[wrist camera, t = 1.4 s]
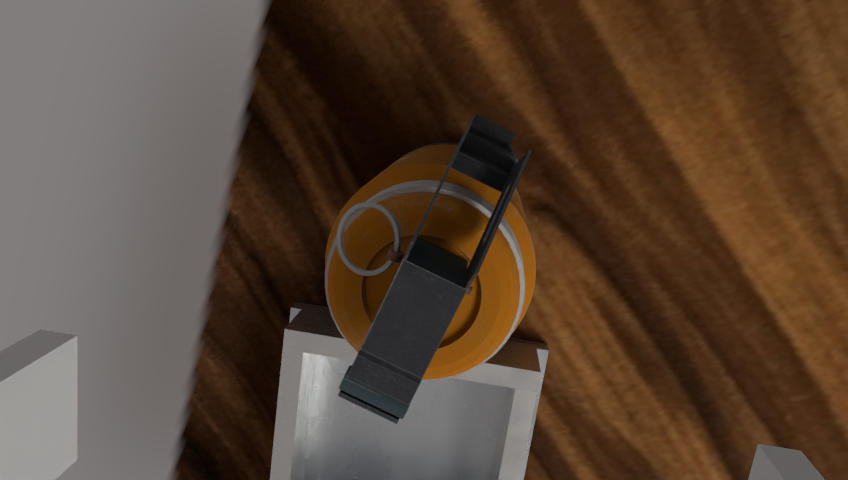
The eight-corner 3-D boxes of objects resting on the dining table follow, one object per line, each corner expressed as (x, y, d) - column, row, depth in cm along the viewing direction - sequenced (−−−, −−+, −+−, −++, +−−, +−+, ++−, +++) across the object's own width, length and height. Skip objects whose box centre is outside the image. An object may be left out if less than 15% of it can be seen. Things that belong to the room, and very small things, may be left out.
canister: (351, 248, 42) (230, 386, 23) (426, 82, 39) (364, 76, 20) (481, 310, 42) (473, 502, 23) (565, 149, 39) (638, 208, 20)
